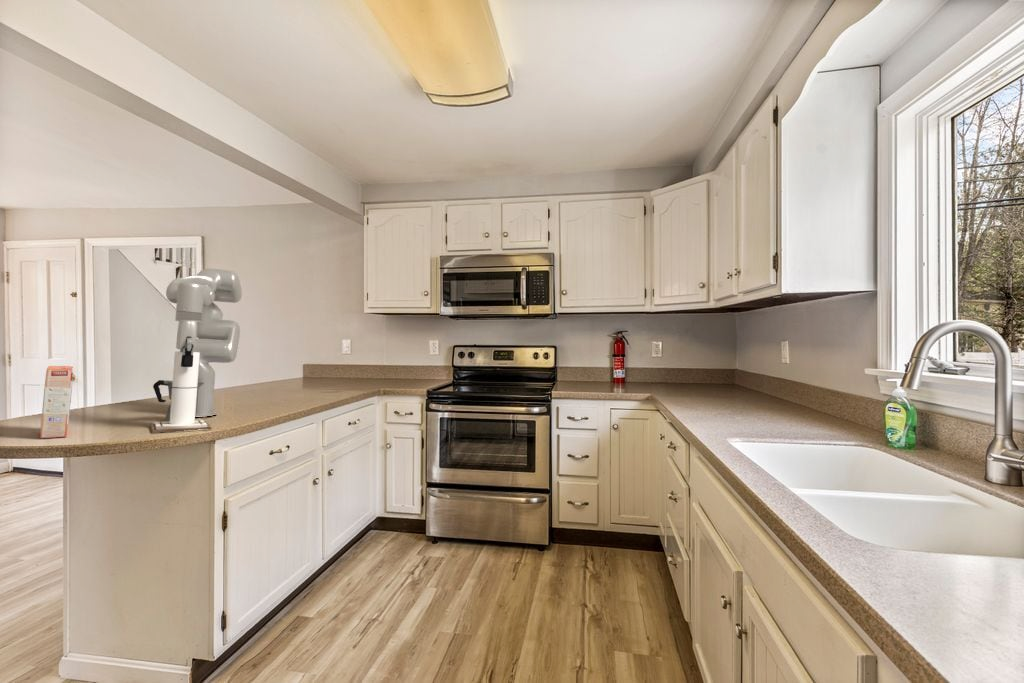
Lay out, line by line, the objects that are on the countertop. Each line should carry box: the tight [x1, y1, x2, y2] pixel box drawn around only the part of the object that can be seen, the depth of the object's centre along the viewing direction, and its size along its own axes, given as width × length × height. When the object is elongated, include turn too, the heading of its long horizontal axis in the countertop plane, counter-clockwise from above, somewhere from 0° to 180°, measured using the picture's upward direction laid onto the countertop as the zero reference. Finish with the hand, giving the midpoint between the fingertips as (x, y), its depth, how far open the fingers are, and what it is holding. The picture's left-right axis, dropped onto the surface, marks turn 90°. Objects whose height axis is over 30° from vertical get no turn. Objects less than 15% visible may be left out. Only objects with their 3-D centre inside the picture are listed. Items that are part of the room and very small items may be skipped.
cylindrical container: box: [169, 351, 200, 425], centre depth 157 cm, size 7×7×25 cm
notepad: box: [150, 419, 212, 434], centre depth 157 cm, size 14×16×2 cm
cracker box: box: [39, 365, 74, 439], centre depth 138 cm, size 14×6×21 cm, turn 44°
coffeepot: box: [152, 379, 204, 421], centre depth 169 cm, size 15×9×18 cm, turn 129°
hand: (185, 366), depth 157 cm, fingers open, 9 cm apart
